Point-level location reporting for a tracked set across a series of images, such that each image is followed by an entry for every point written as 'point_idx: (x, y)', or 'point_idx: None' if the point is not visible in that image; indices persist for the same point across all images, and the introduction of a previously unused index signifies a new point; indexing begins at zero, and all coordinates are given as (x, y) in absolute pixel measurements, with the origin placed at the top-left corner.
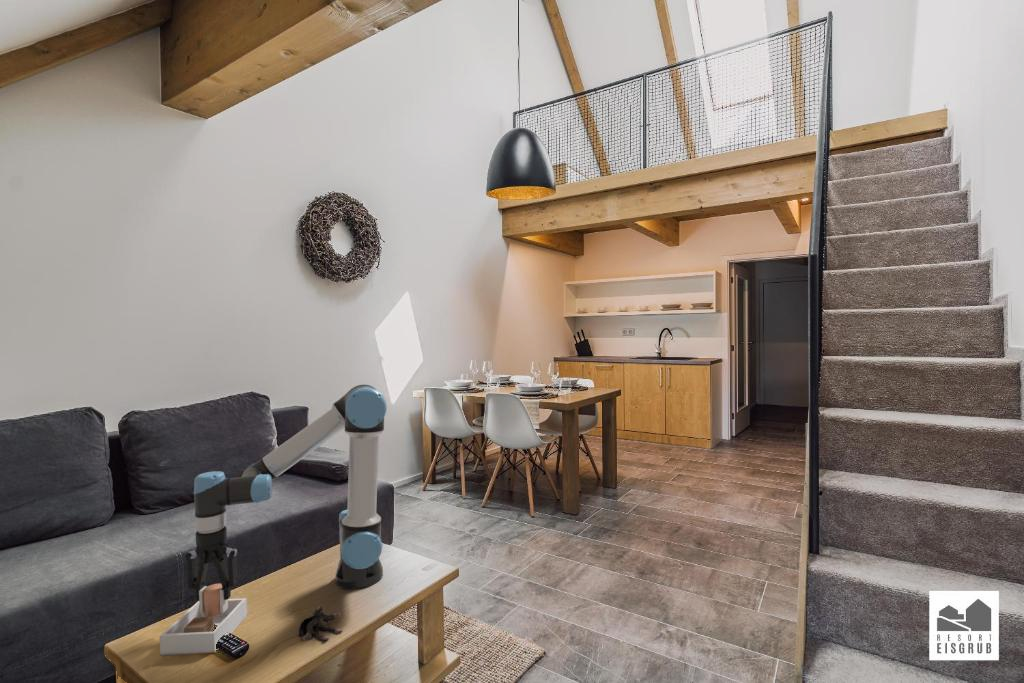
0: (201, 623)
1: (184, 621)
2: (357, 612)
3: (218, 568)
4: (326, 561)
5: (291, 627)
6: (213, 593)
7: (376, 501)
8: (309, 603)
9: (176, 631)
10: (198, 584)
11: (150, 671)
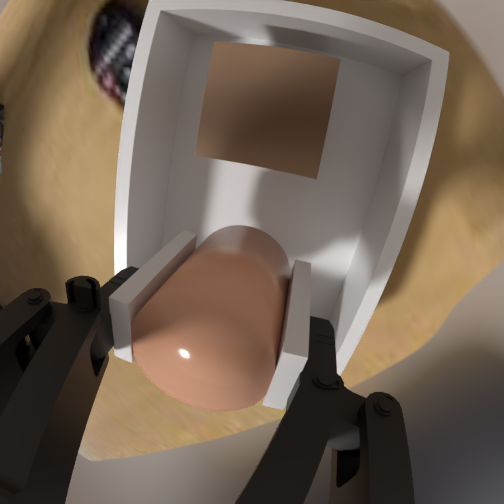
0: (242, 82)
1: (379, 229)
2: None
3: (13, 457)
4: (95, 434)
5: (19, 153)
6: (175, 290)
7: None
8: (26, 275)
9: (397, 155)
10: (308, 408)
11: None
